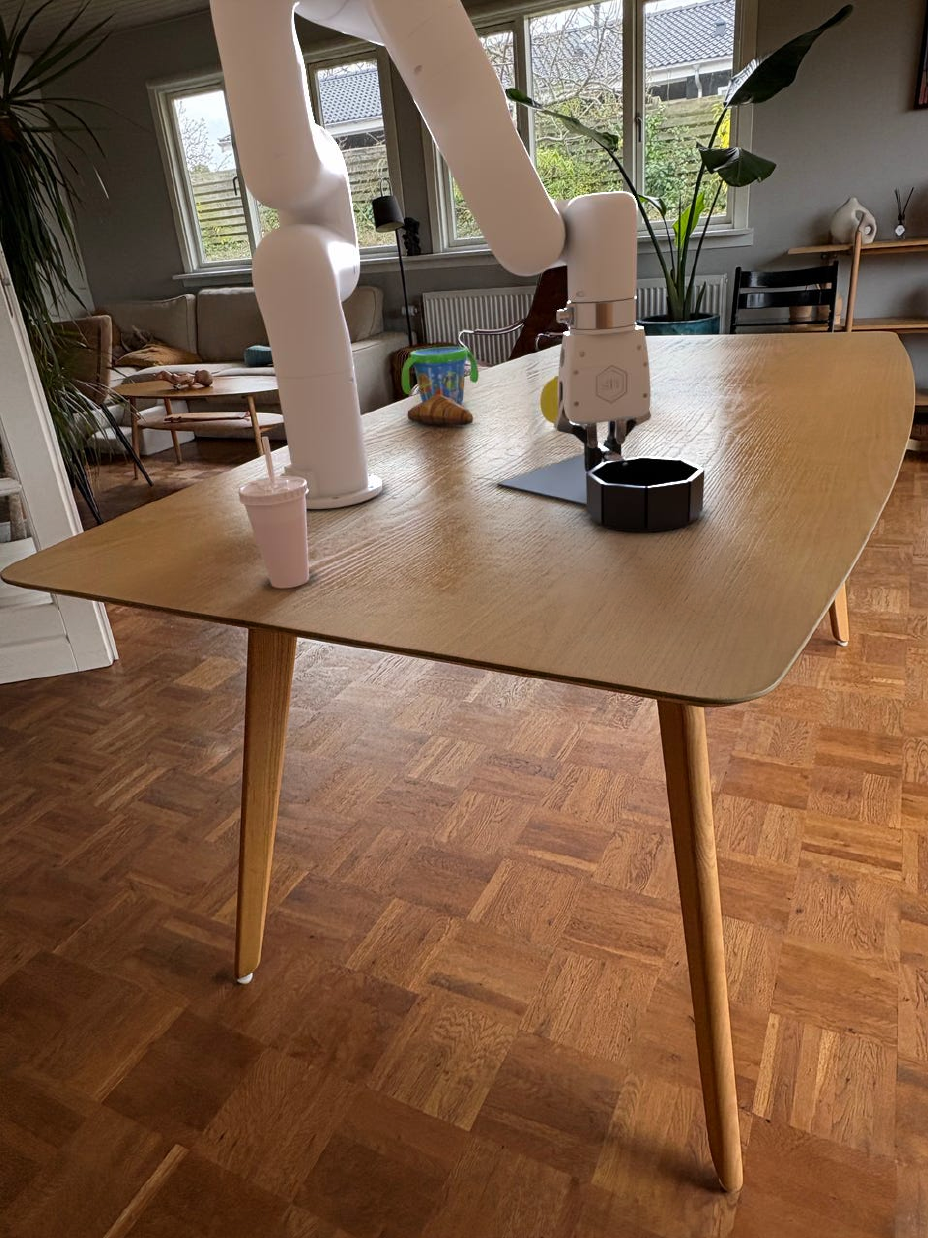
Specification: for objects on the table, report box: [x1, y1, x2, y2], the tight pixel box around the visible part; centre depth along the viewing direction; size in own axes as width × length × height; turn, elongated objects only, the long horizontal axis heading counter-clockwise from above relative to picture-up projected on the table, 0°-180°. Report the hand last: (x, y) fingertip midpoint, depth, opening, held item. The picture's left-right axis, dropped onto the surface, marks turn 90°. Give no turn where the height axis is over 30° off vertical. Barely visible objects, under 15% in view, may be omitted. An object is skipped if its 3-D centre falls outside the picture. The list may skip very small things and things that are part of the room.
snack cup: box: [401, 346, 480, 406], centre depth 150 cm, size 16×10×10 cm
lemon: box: [539, 375, 558, 425], centre depth 128 cm, size 6×6×8 cm
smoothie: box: [237, 436, 310, 589], centre depth 76 cm, size 6×6×14 cm
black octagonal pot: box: [586, 442, 705, 533], centre depth 92 cm, size 22×12×5 cm, turn 13°
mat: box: [497, 453, 628, 507], centre depth 102 cm, size 18×16×1 cm
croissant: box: [407, 394, 474, 426], centre depth 138 cm, size 14×7×5 cm, turn 54°
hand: (602, 475), depth 99 cm, fingers closed on black octagonal pot, 1 cm apart
